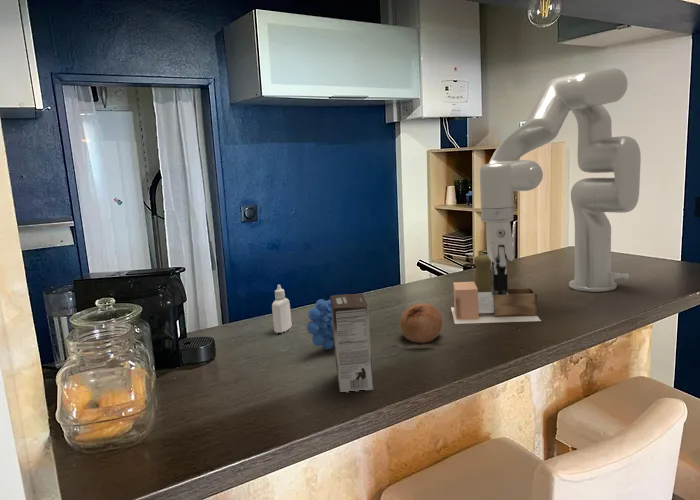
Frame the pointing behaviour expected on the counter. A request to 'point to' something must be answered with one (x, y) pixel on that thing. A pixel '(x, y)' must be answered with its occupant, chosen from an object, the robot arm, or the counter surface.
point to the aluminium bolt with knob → (489, 297)
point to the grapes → (321, 324)
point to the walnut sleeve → (516, 303)
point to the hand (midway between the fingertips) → (499, 287)
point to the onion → (421, 323)
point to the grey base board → (494, 318)
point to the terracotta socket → (465, 300)
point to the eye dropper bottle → (281, 311)
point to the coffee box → (352, 342)
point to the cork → (483, 273)
